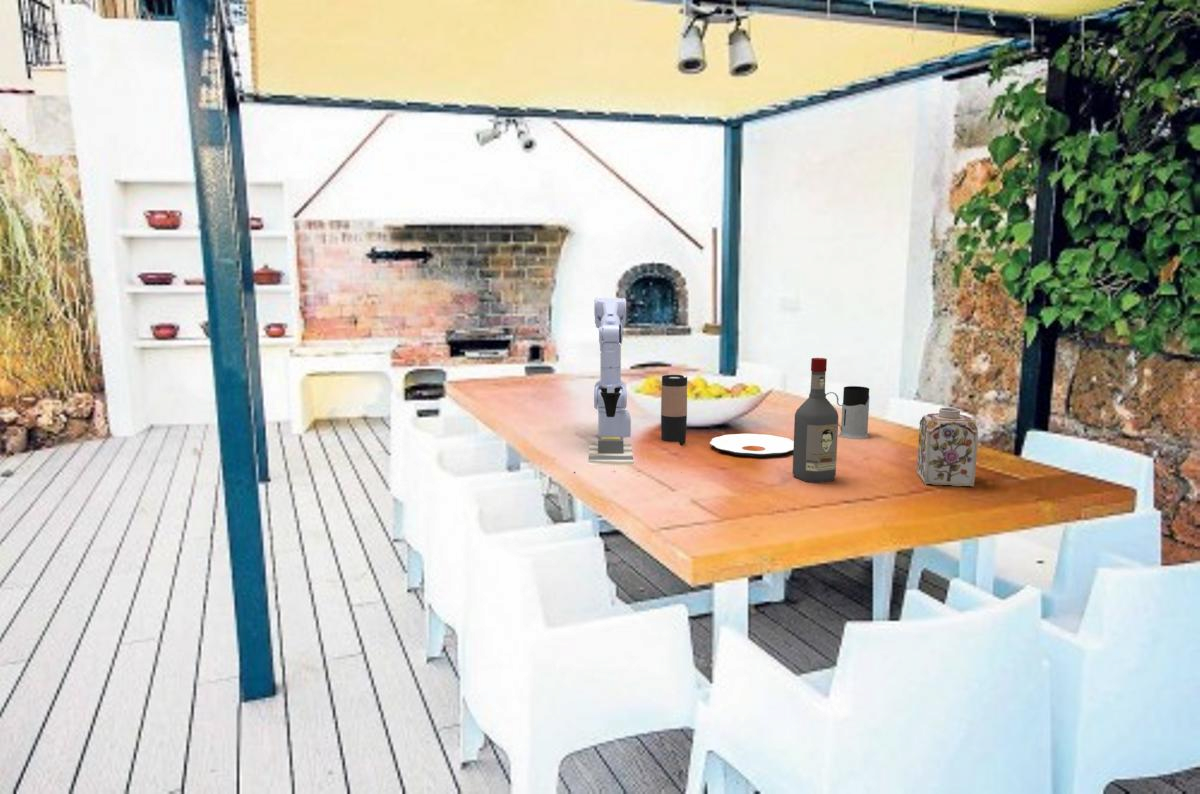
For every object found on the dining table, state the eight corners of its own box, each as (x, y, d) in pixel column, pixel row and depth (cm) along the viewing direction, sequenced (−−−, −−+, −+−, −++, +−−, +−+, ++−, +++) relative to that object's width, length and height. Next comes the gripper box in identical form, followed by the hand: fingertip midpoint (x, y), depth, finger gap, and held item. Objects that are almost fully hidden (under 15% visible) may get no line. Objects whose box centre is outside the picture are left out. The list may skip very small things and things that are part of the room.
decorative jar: (964, 475, 207) (969, 405, 204) (975, 488, 196) (981, 414, 193) (914, 472, 210) (919, 403, 207) (922, 485, 198) (927, 412, 195)
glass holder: (872, 439, 248) (875, 390, 246) (825, 439, 249) (827, 390, 246) (863, 433, 257) (866, 385, 254) (818, 432, 257) (820, 385, 255)
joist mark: (588, 460, 223) (588, 456, 222) (632, 460, 223) (632, 456, 222) (588, 464, 219) (588, 459, 218) (633, 464, 219) (633, 459, 218)
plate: (743, 436, 254) (743, 430, 254) (815, 449, 236) (815, 442, 236) (692, 449, 237) (692, 442, 236) (765, 464, 219) (765, 457, 219)
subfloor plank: (589, 448, 237) (589, 443, 237) (631, 448, 237) (631, 444, 237) (588, 469, 213) (588, 464, 213) (634, 469, 213) (634, 464, 213)
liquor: (787, 474, 208) (792, 357, 203) (817, 471, 211) (822, 355, 206) (809, 483, 199) (815, 361, 194) (840, 480, 203) (846, 360, 198)
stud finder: (598, 449, 230) (598, 436, 230) (623, 449, 230) (623, 436, 230) (598, 453, 225) (598, 440, 225) (623, 453, 225) (623, 440, 225)
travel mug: (657, 444, 241) (658, 377, 238) (665, 439, 248) (665, 374, 245) (682, 446, 238) (683, 379, 235) (689, 441, 245) (690, 375, 242)
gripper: (596, 364, 237) (596, 410, 239) (596, 370, 223) (596, 419, 225) (620, 364, 237) (620, 410, 239) (621, 370, 223) (621, 419, 225)
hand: (610, 414), depth 232 cm, fingers open, 6 cm apart
